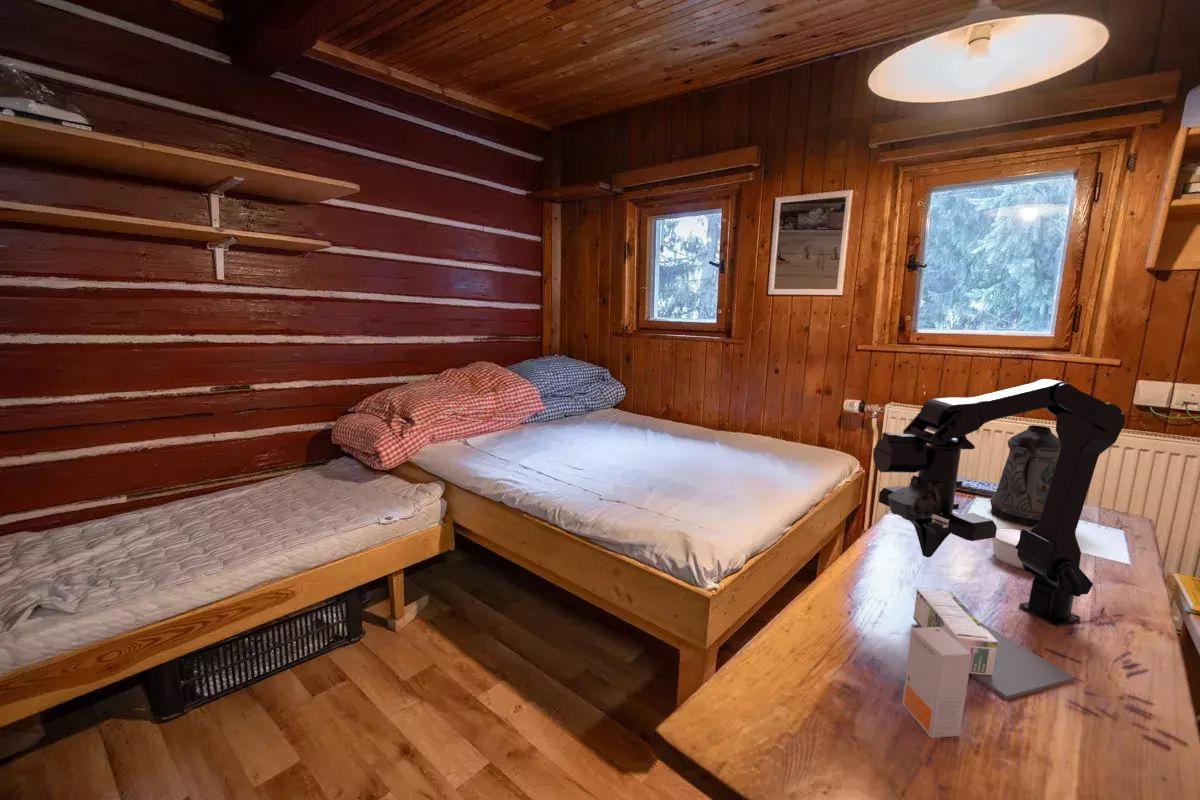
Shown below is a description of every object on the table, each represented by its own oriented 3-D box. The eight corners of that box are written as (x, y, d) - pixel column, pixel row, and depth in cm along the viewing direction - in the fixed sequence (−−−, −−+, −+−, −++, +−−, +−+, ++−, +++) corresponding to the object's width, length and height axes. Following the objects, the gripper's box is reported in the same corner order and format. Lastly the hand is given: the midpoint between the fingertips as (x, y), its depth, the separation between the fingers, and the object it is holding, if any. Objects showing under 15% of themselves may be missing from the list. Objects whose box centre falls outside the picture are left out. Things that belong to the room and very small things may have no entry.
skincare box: (900, 705, 74) (910, 626, 72) (929, 703, 75) (939, 625, 73) (930, 739, 69) (942, 655, 66) (961, 738, 69) (974, 654, 67)
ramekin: (1063, 566, 116) (1067, 544, 115) (1035, 577, 111) (1039, 553, 110) (1006, 546, 126) (1009, 525, 125) (978, 555, 121) (981, 533, 120)
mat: (972, 621, 95) (973, 618, 95) (1074, 680, 80) (1075, 677, 80) (911, 634, 91) (911, 631, 91) (1006, 699, 76) (1006, 695, 76)
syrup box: (946, 621, 94) (995, 677, 80) (911, 618, 95) (953, 672, 80) (951, 591, 93) (1001, 642, 79) (915, 588, 94) (958, 638, 79)
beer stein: (1060, 514, 146) (1075, 425, 142) (1075, 539, 130) (1093, 439, 126) (986, 502, 155) (999, 417, 151) (992, 524, 139) (1006, 430, 135)
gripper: (859, 460, 99) (851, 540, 102) (953, 494, 81) (940, 589, 84) (906, 456, 102) (896, 533, 105) (1005, 488, 85) (991, 579, 88)
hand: (926, 556), depth 95 cm, fingers closed
